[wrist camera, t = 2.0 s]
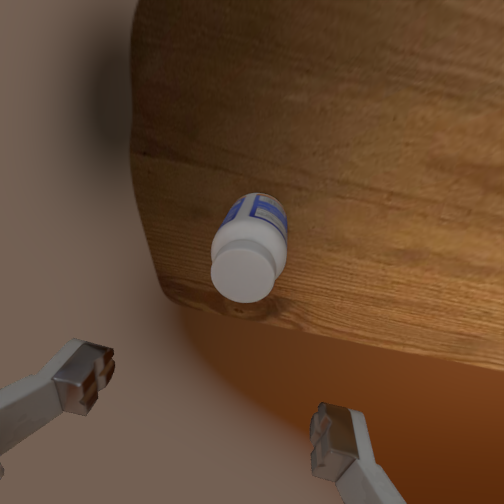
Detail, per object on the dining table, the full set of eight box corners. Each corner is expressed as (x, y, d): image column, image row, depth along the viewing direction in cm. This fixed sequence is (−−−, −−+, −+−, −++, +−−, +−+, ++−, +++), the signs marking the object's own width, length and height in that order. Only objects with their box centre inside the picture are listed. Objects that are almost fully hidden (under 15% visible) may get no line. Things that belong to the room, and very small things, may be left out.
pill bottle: (237, 249, 26) (212, 316, 18) (222, 197, 24) (185, 247, 15) (292, 240, 25) (293, 309, 17) (282, 185, 23) (277, 232, 14)
